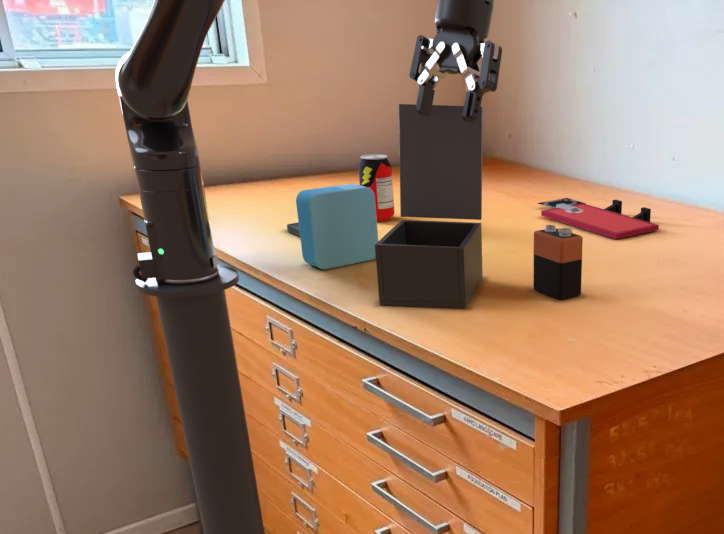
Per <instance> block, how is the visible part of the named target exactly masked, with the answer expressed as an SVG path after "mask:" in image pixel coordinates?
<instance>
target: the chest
mask: <svg viewBox="0 0 724 534" xmlns="http://www.w3.org/2000/svg"><path fill="white" fill-rule="evenodd" d="M482 235H483V233H482V222H470V221H469V222H467V221H466V222H465V221H446V220H445V221H444V220H443V221H441V220H417V219H416V220H414V219H400V221H398V222H397V224H396V225H394V226H393V227H392V228H391V229H390V230H389V231H388V232H387V233H385V235H383V236H382V237H381V238H380V239H378V242H377V243H376V244H375V255H376V258H375V264H376V266H375V267H376V279H377V290H378V304H379V306H391V307H416V308H435V309H436V308H437V309H439V308H440V309H459V310H462V309H464V310H465V309H467V307H468V305H469V303H470V302H471V300H472V298H473V297H474V295H475V293H476V291H477V289H478V288H479V286H480V283H481V282H482V280H483V278H484V276H483V275H484V274H483V243H482V242H483V237H482Z"/></svg>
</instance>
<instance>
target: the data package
mask: <svg viewBox="0 0 724 534" xmlns="http://www.w3.org/2000/svg"><path fill="white" fill-rule="evenodd" d="M295 204H296V213H297V220H298V221H297V223H298V222H299V230H300V236H299V237H300V245H301V255H302V259H303V261H304V262H305V263H306V264H308V265H311V266H313V267H316V268H318V269H320V270H330V269H334V268H335V269H336V268H339V267H345V266H349V265H353V264H359V263H364V262H368V261H374V260H376V255H375V244H376V243H377V242H378V241H379V232H378V231H379V230H378V221H377V218H376V205H375V195H374V192H373V191H372V190H371V189H370V188H368V187H364V186H361V185H360V184H356V183H346V184H339V185H331V186H324V187H316V188H310V189H303V190H300V191H299V192H298V193H297V195H296V199H295Z"/></svg>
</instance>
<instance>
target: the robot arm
mask: <svg viewBox="0 0 724 534" xmlns="http://www.w3.org/2000/svg"><path fill="white" fill-rule="evenodd" d="M495 1H496V0H437V4H436V10H435V15H434V24H435V27H436V33H435V36H434V37H433V38H428V36H427V37H426V36H424V35H422V34H419V35H418V36H417V37H416V42H415V45H414V51H413V55H412V61H411V65H410V69H409V74H408V75H409V79H411V80H413V81H415V82H416V83H417V84H418V91H417V98H416V103H415V104H416V108H417V112H418V113H419V114H421V115H424V116H430V115H431V110H432V105H434V104H433V103H434V98H435V94H436V93H435V92H436V90H435V88H436V86H437V85H438V84H439V83H440V81H441V80H443V79H445V78H446V77H447V76H448V75H457V74H458V75H461V76H462V77H463V78H464V81H465V82H466V85H467V89H468V91H467V90H466V91H465V98H464V103H463V106H464V108H463V113H462V119H463V120H465V121H467V122H470V123H475V121H476V119H477V118H478V116H479V111H480V106H481V105H482V101H483V96H484V95H485V94H486V93H489V92H492V93H495V92H496V91H497V88H498V83H499V76H500V69H501V62H502V56H503V55H502V54H503V47H502V46H500V45H499V44H497V43H496V42H493V41H491V40H486V39H487V38H488V37H489V34H490V30H491V29H490V28H491V23H492V19H493V18H492V17H493V12H494V7H495ZM225 2H226V0H153V4H152V7H151V10H150V11H149V14H148V17H147V19H146V20H145V21H146V22H145V23H144V25H143V27H142V29H141V31H140V33H139V36H138V37H137V39H136V41H135V43H134V45H133V47H132V48H131V49H130V51H128V52H126V54H124V55H123V56H122V57H121V59H120V60H119V62H118V64H117V66H116V69H115V82H116V84H115V85H116V89H117V95H118V98H119V104H120V109H121V113H122V119H123V123H124V128H125V133H126V138H127V143H128V148H129V151H130V152H129V153H130V157H131V161H132V166H133V169H134V175H135V179H136V184H137V189H138V194H139V200H140V205H141V210H142V215H143V221H144V226H145V231H146V236H147V241H148V246H149V251H148V252H147V251H146V252H138V253H137V254H136V255H137V260H138V264H136V265H135V267H134V268H133V269H132V275H133V277H134V278H135V279H138V280H141V281H143V282H146V281H147V280H148V278H155V279H156V281H157V285H192V284H199V283H203V282H207V281H211V280H213V279H215V278H217V277H218V276H219V271H218V268H217V265H219V259H218V254H216V252H215V246H214V240H213V234H212V228H211V221H210V214H209V209H208V204H207V197H206V191H205V186H204V179H203V173H202V168H201V162H200V155H199V150H198V146H197V141H196V138H195V132H194V128H193V125H192V118H191V112H190V107H189V95H190V92H191V88H192V84H193V80H194V76H195V71H196V68H197V66H198V62H199V58H200V55H201V52H202V49H203V46H204V44H205V40H206V38H207V35H208V33H209V31H210V29H211V27H212V25H213V24H214V22H215V20H216V18H217V17H218V15H219V14H220V13H219V12H220V11H221V9H222V7H223V5H224V3H225ZM485 40H486V41H485ZM480 60H481V65H480V63H479V61H480ZM481 107H482V106H481Z"/></svg>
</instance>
